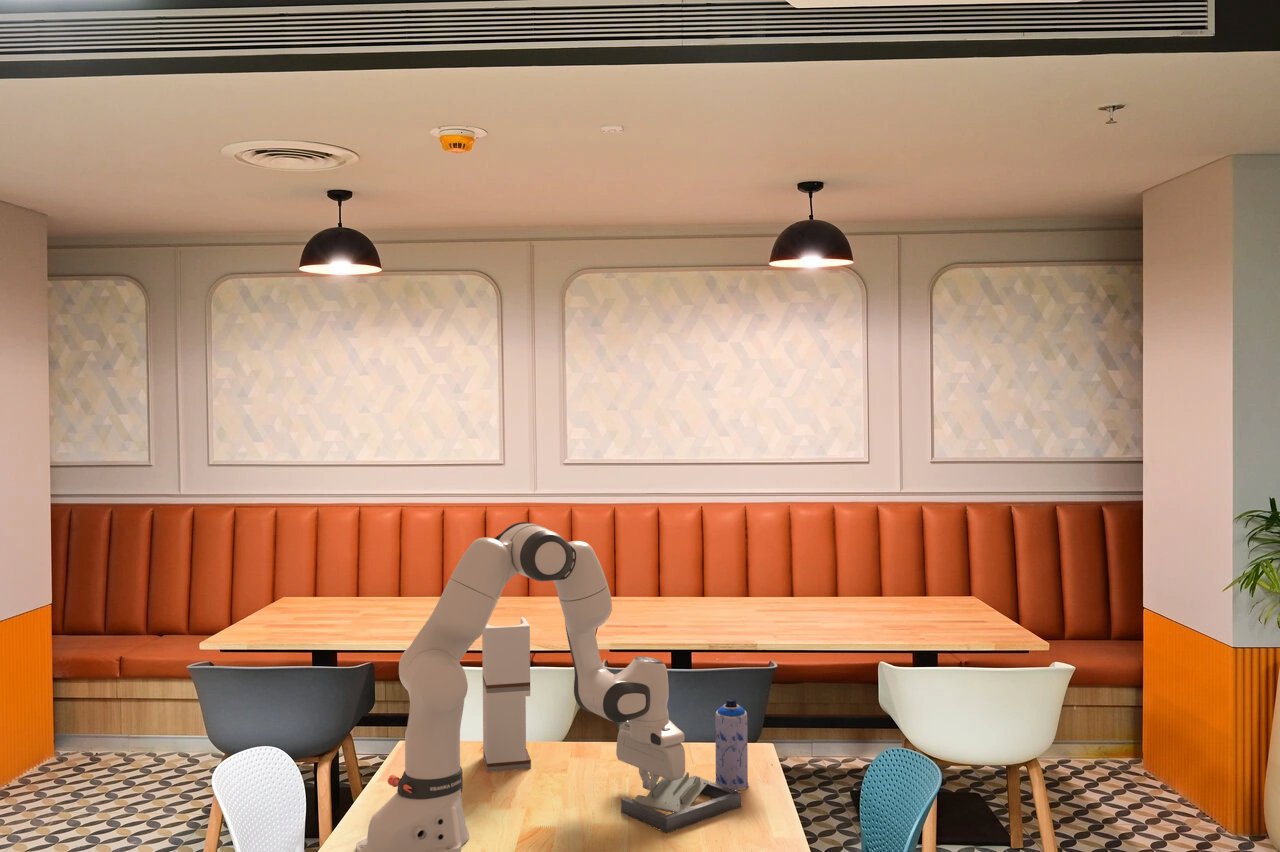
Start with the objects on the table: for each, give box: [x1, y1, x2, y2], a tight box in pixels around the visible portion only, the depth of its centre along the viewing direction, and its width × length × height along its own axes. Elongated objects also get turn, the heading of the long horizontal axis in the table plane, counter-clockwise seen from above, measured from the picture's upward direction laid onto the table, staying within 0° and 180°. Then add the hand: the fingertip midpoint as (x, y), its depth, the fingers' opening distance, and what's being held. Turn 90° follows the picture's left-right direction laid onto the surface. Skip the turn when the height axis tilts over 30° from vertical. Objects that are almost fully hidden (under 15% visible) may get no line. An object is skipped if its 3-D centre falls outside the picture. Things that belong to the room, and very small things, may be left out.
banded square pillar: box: [481, 616, 532, 773], centre depth 261 cm, size 11×11×35 cm
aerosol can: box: [714, 698, 750, 791], centre depth 244 cm, size 8×8×20 cm
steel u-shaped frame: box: [620, 775, 743, 834], centre depth 229 cm, size 22×15×3 cm
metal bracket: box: [633, 772, 709, 813], centre depth 234 cm, size 14×6×15 cm
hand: (649, 789), depth 237 cm, fingers closed
